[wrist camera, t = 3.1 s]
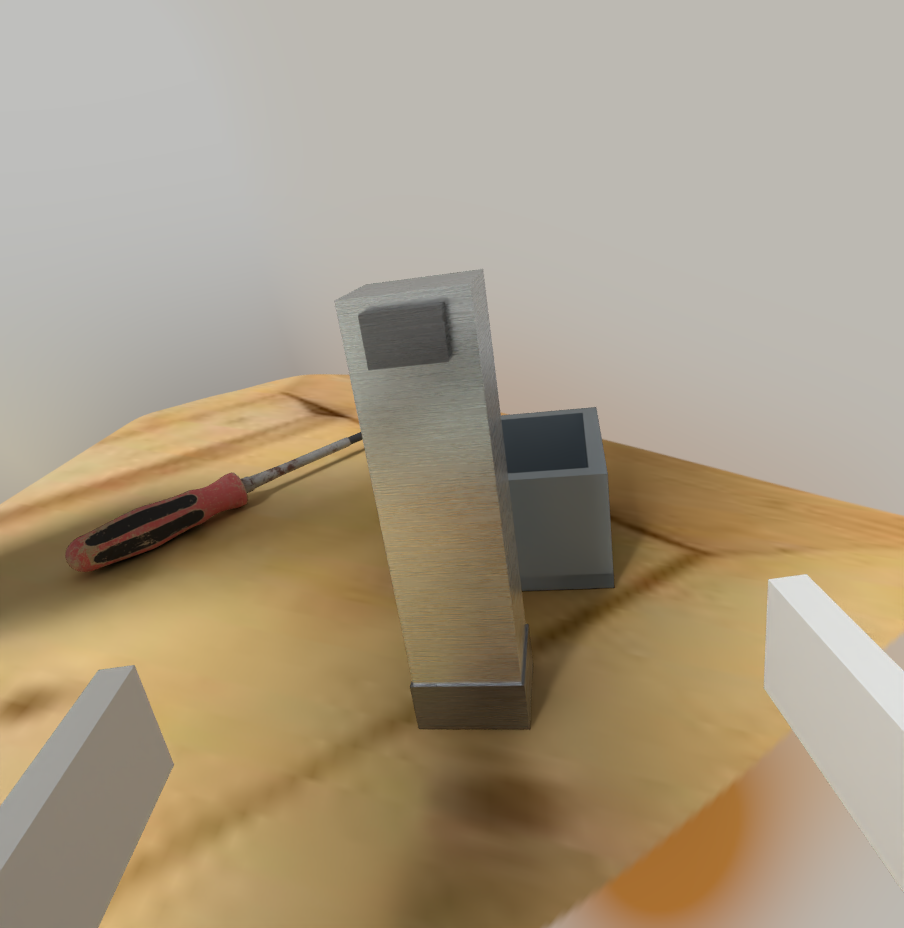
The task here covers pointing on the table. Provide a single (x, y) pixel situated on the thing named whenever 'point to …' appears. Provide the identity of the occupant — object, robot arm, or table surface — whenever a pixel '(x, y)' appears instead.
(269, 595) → the table surface
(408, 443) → the brushed metal post
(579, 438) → the caddy
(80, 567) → the screwdriver
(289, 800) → the table surface
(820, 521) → the table surface
